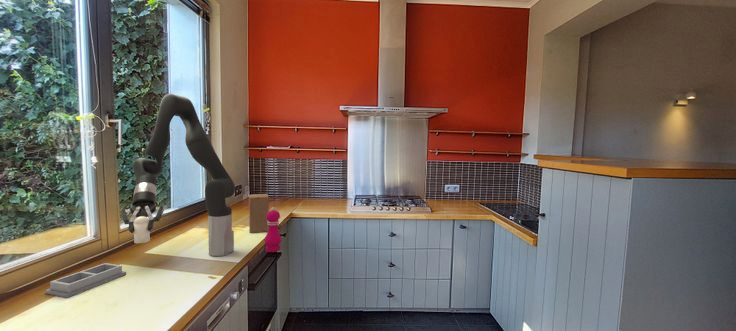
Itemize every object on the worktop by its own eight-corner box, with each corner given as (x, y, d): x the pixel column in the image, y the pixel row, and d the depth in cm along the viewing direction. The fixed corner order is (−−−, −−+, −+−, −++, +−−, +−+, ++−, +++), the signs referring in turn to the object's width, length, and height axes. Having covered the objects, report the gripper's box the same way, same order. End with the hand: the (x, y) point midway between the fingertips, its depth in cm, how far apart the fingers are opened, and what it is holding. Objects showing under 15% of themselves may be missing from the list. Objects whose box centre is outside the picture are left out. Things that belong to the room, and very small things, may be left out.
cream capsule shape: (152, 239, 112) (151, 215, 112) (140, 243, 108) (139, 218, 107) (143, 238, 114) (142, 214, 113) (131, 242, 109) (129, 217, 108)
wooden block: (268, 231, 157) (268, 196, 156) (249, 233, 154) (249, 197, 152) (267, 227, 167) (267, 193, 165) (249, 228, 163) (249, 194, 162)
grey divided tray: (126, 274, 102) (125, 265, 102) (67, 297, 86) (66, 286, 85) (106, 271, 104) (106, 261, 104) (45, 293, 88) (44, 282, 88)
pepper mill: (284, 248, 132) (284, 206, 131) (274, 253, 125) (274, 209, 124) (271, 246, 134) (271, 205, 133) (261, 251, 128) (261, 207, 126)
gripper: (120, 191, 112) (114, 228, 103) (164, 189, 120) (162, 223, 110) (124, 202, 117) (118, 238, 108) (166, 199, 125) (164, 233, 115)
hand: (140, 230), depth 109 cm, fingers closed on cream capsule shape, 4 cm apart
